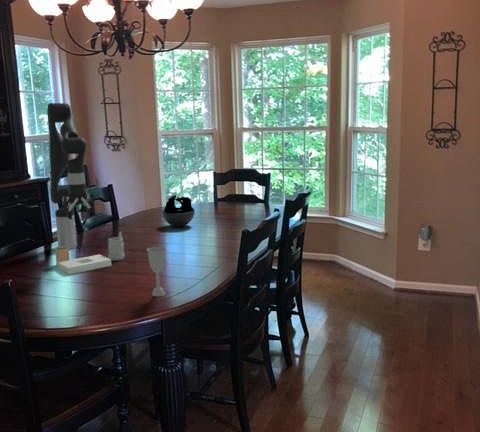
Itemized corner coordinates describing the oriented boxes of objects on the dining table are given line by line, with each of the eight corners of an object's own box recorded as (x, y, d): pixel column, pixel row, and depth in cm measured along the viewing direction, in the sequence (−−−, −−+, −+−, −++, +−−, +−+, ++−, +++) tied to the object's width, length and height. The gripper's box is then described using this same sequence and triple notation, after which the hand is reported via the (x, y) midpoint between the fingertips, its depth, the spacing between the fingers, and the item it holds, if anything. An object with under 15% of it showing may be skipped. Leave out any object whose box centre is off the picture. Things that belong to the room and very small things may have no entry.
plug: (56, 264, 240) (55, 246, 238) (66, 262, 243) (64, 245, 241) (60, 266, 236) (58, 248, 235) (70, 264, 239) (68, 247, 237)
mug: (105, 260, 246) (104, 236, 243) (116, 253, 257) (114, 230, 255) (120, 261, 244) (119, 236, 242) (130, 254, 256) (129, 231, 253)
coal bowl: (193, 229, 308) (192, 199, 305) (160, 230, 309) (158, 199, 305) (196, 223, 328) (195, 193, 324) (165, 223, 328) (164, 194, 325)
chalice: (168, 290, 201) (167, 246, 198) (167, 296, 195) (165, 251, 191) (150, 291, 201) (147, 246, 198) (147, 297, 195) (145, 251, 191)
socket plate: (58, 268, 233) (58, 262, 232) (100, 260, 246) (99, 254, 245) (69, 274, 224) (68, 268, 223) (111, 265, 237) (111, 259, 236)
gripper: (87, 180, 239) (90, 214, 242) (57, 183, 229) (60, 218, 233) (95, 181, 233) (97, 216, 236) (64, 185, 224) (67, 221, 227)
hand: (79, 217), depth 235 cm, fingers open, 8 cm apart
